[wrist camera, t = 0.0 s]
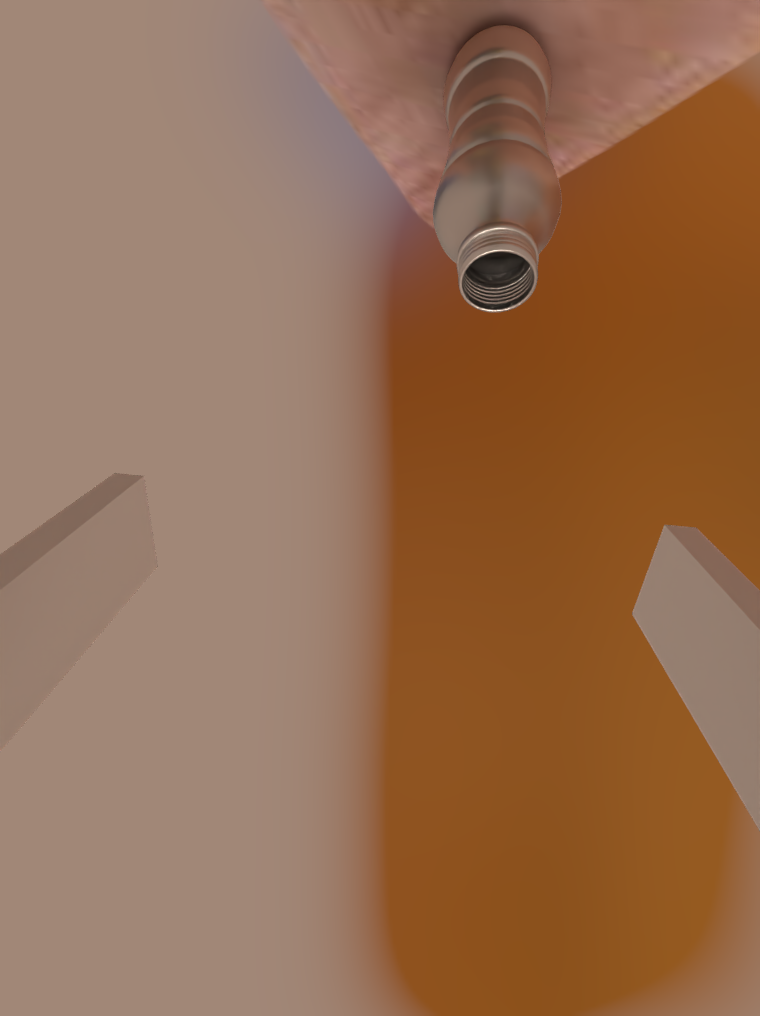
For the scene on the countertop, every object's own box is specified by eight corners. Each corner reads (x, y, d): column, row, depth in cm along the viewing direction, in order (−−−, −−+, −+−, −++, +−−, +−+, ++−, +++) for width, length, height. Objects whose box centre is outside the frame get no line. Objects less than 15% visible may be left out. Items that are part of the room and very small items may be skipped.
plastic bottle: (526, 140, 36) (538, 344, 27) (434, 120, 36) (415, 322, 27) (567, 24, 31) (601, 234, 22) (459, -1, 30) (445, 202, 21)
